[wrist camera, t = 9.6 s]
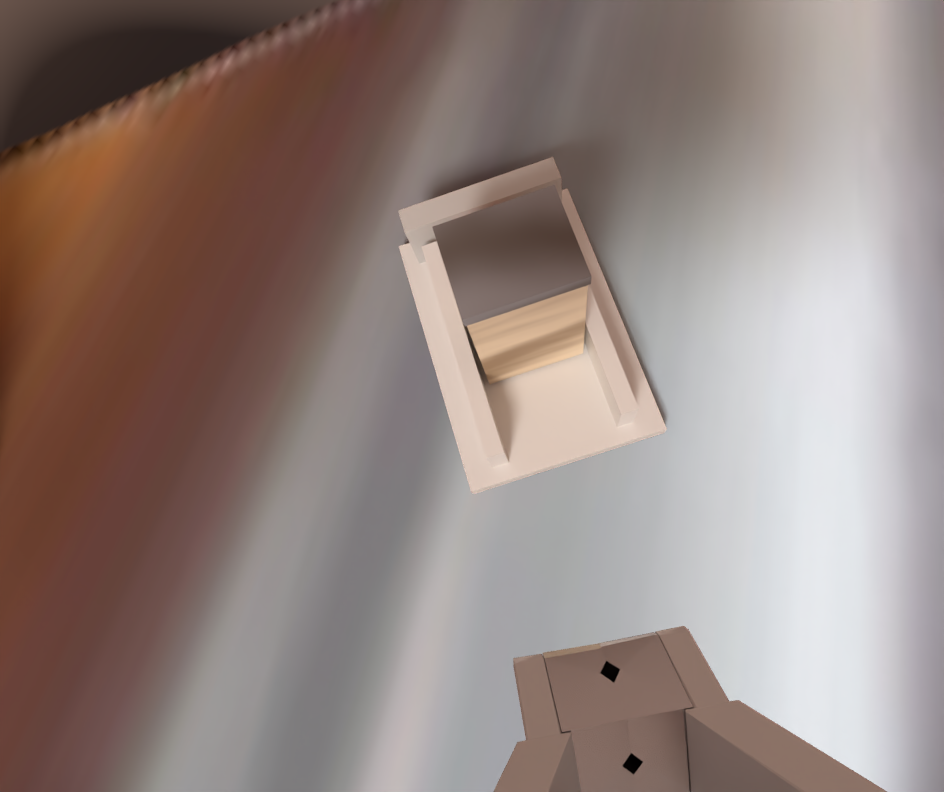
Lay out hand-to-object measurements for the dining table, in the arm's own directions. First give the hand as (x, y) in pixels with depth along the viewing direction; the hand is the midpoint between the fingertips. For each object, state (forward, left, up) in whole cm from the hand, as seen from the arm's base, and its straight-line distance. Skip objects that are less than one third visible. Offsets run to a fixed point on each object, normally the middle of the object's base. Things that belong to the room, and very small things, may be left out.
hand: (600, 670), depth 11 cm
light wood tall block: (-9, +14, -24) cm, 29 cm away
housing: (-9, +14, -26) cm, 31 cm away
